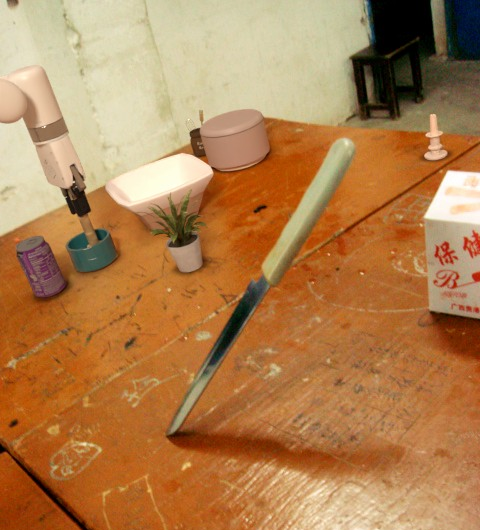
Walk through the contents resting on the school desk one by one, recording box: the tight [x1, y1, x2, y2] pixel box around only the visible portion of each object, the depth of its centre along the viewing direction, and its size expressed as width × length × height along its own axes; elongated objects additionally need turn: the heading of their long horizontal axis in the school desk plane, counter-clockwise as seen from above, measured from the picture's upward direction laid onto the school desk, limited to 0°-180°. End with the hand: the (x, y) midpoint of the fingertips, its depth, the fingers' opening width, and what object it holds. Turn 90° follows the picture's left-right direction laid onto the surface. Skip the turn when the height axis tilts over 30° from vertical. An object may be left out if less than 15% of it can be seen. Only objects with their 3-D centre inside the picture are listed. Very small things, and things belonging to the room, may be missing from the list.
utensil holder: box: [185, 109, 206, 157], centre depth 191 cm, size 6×6×12 cm
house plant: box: [130, 189, 208, 273], centre depth 128 cm, size 14×14×16 cm
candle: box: [423, 113, 448, 161], centre depth 148 cm, size 5×5×10 cm
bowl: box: [104, 152, 214, 231], centre depth 155 cm, size 24×25×11 cm
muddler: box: [68, 186, 100, 247], centre depth 140 cm, size 4×4×15 cm
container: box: [199, 108, 271, 172], centre depth 177 cm, size 18×18×12 cm
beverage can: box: [14, 235, 67, 298], centre depth 136 cm, size 7×7×12 cm
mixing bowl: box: [64, 227, 119, 273], centre depth 144 cm, size 10×10×6 cm
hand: (81, 212), depth 139 cm, fingers closed on muddler, 2 cm apart
